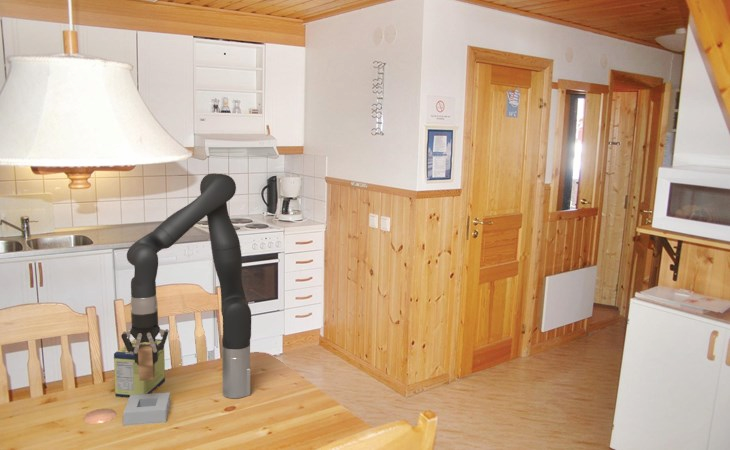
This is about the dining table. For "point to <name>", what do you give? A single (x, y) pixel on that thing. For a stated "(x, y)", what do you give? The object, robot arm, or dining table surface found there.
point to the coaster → (99, 416)
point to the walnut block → (146, 363)
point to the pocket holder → (146, 409)
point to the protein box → (135, 373)
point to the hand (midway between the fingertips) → (146, 363)
